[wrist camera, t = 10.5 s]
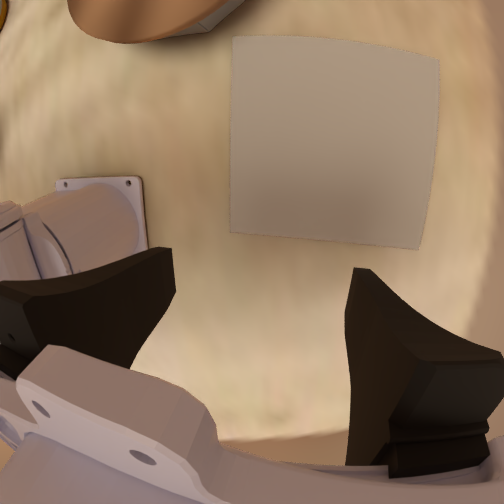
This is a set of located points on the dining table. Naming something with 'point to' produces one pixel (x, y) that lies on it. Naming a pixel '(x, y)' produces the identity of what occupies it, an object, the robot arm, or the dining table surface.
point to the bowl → (210, 19)
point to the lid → (138, 17)
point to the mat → (331, 140)
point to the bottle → (2, 12)
